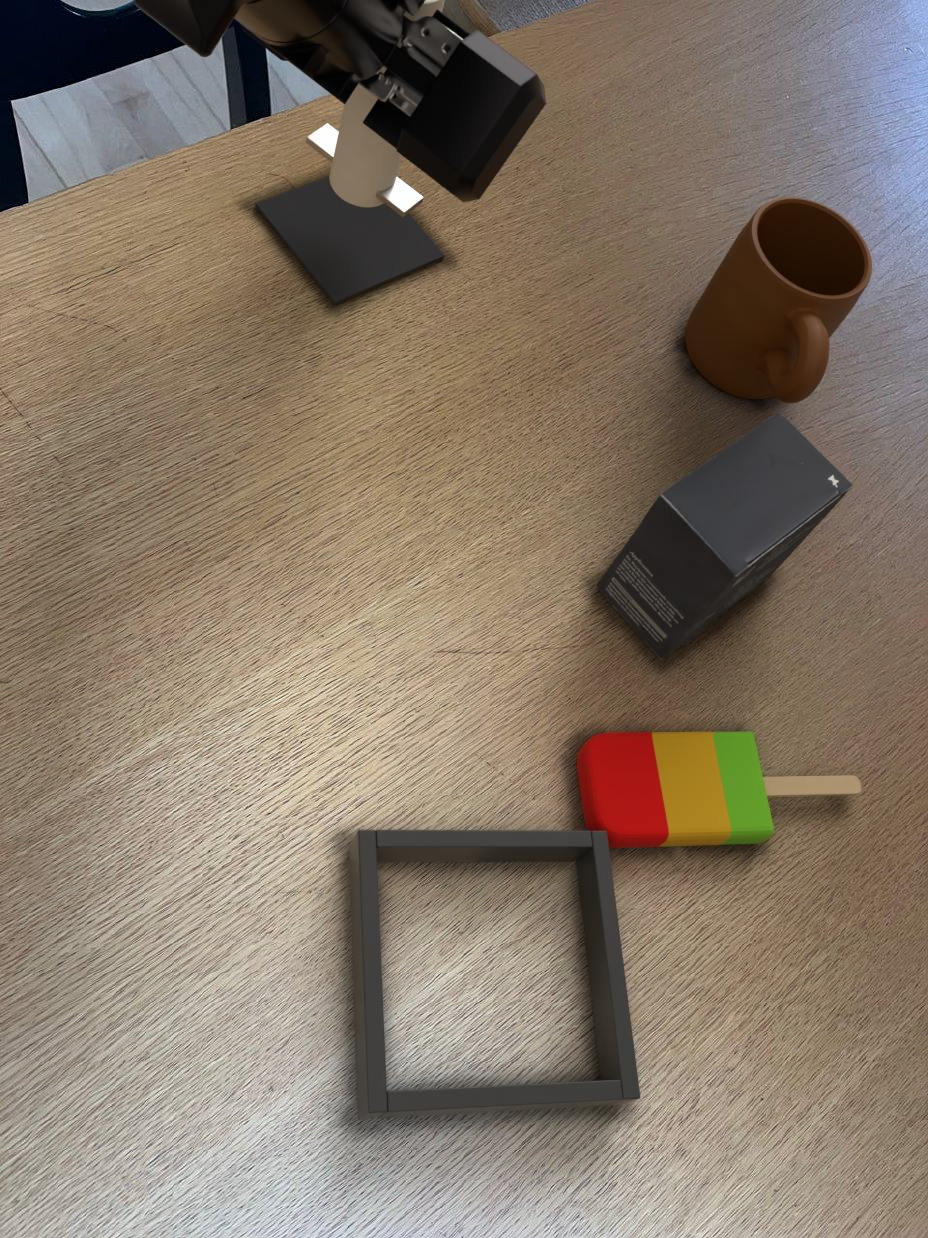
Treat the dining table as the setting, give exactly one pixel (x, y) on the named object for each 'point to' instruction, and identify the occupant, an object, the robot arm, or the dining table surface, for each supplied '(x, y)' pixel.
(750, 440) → the box
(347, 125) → the white tall round cylinder
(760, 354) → the mug
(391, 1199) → the dining table surface
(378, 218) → the rubber mat
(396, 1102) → the grey picture frame
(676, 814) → the popsicle
